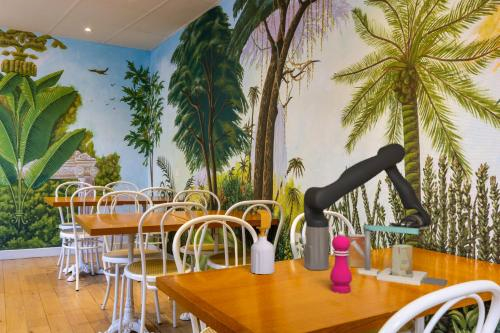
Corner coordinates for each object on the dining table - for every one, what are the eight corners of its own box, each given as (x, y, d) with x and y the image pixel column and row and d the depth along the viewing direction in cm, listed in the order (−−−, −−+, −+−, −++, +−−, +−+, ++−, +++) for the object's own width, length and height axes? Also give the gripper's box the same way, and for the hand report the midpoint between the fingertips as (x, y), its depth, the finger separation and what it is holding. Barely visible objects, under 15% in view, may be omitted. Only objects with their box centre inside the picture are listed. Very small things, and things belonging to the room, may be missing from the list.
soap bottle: (267, 268, 174) (267, 208, 174) (278, 273, 166) (278, 210, 166) (247, 271, 170) (247, 209, 170) (257, 276, 162) (257, 211, 162)
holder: (353, 276, 162) (353, 232, 162) (365, 268, 174) (365, 227, 174) (419, 285, 149) (419, 237, 149) (427, 276, 162) (427, 232, 162)
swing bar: (362, 229, 166) (362, 225, 166) (365, 228, 169) (365, 224, 169) (417, 234, 154) (417, 229, 154) (419, 233, 157) (419, 228, 157)
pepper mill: (354, 289, 145) (354, 230, 145) (349, 295, 138) (349, 233, 138) (333, 286, 148) (333, 229, 148) (327, 292, 141) (327, 231, 141)
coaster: (423, 283, 152) (423, 281, 152) (426, 278, 158) (426, 277, 158) (444, 285, 149) (444, 284, 149) (447, 281, 155) (447, 279, 155)
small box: (349, 267, 176) (349, 236, 176) (347, 264, 183) (347, 233, 183) (369, 267, 176) (369, 236, 176) (366, 264, 182) (366, 233, 182)
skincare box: (400, 280, 156) (400, 247, 156) (391, 277, 160) (391, 245, 160) (413, 278, 159) (413, 245, 159) (403, 275, 163) (403, 243, 163)
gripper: (394, 214, 178) (384, 218, 163) (428, 216, 171) (421, 220, 156) (394, 232, 178) (384, 238, 163) (428, 235, 171) (421, 241, 156)
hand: (402, 229), depth 160 cm, fingers closed
